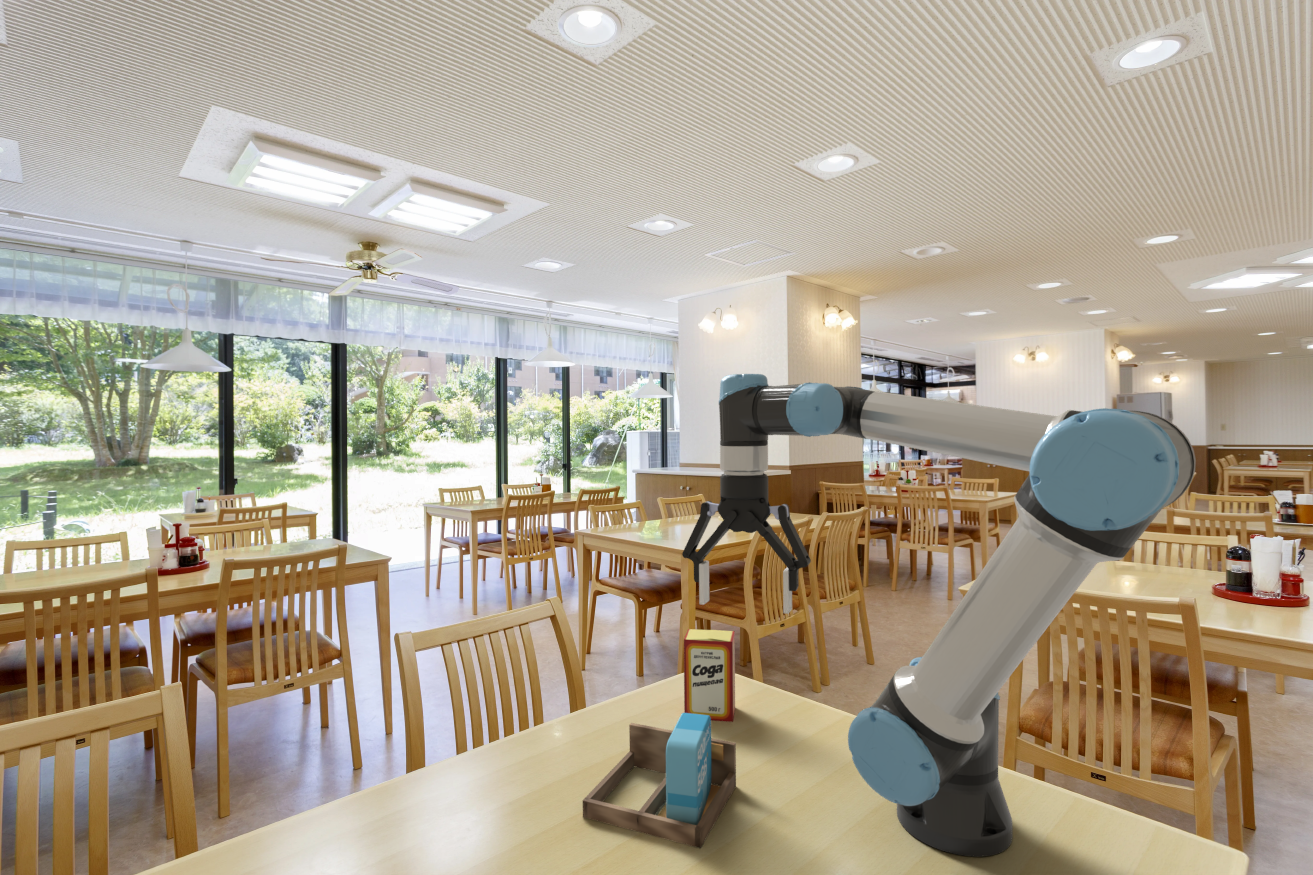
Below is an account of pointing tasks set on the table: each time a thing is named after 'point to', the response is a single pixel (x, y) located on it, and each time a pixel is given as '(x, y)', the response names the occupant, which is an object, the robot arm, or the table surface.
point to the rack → (662, 789)
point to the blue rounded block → (688, 768)
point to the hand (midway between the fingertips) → (745, 606)
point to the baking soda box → (710, 673)
